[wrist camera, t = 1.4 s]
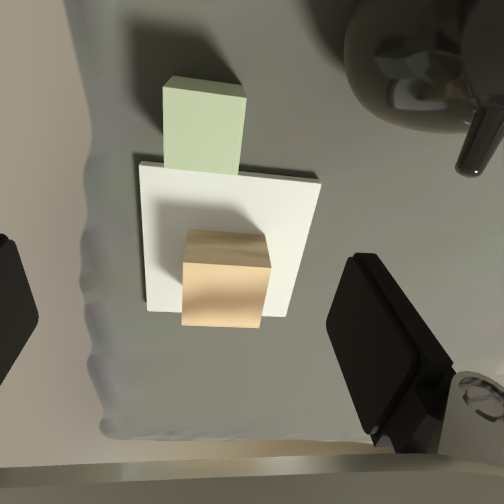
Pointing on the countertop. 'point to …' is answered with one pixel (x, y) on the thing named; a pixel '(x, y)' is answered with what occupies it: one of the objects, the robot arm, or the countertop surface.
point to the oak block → (224, 279)
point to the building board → (222, 225)
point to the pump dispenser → (432, 69)
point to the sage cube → (203, 125)
